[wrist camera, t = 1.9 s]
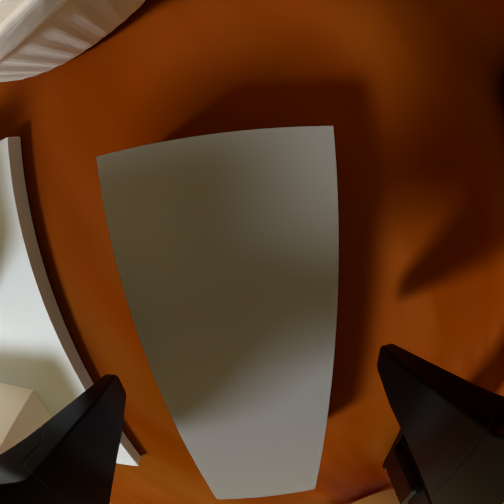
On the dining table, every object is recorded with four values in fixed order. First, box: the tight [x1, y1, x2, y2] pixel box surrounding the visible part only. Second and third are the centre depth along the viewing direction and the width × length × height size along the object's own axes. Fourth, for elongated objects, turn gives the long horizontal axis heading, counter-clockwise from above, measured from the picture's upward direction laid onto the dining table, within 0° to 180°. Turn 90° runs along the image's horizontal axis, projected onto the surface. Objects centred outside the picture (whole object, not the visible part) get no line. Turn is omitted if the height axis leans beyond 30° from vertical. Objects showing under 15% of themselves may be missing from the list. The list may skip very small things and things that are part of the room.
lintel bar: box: [96, 126, 339, 499], centre depth 9 cm, size 4×14×4 cm, turn 5°
